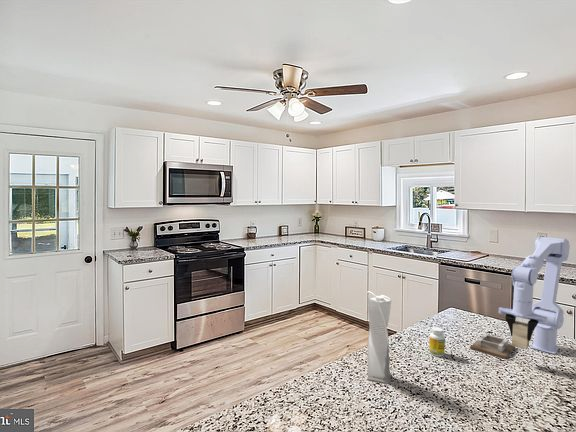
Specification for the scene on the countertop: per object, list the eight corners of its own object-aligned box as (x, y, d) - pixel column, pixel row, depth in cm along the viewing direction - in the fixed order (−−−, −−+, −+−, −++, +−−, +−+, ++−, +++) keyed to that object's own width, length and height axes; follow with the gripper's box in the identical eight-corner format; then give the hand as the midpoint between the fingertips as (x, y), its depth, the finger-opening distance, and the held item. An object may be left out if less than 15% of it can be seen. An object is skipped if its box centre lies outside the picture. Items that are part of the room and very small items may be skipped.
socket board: (481, 338, 150) (481, 330, 149) (514, 347, 141) (515, 339, 141) (470, 348, 140) (470, 340, 140) (505, 359, 131) (505, 349, 131)
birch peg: (514, 342, 131) (515, 320, 130) (529, 345, 128) (530, 324, 127) (511, 345, 128) (512, 323, 127) (526, 349, 125) (527, 327, 124)
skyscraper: (362, 379, 115) (365, 294, 114) (366, 367, 123) (368, 288, 121) (389, 384, 113) (392, 297, 111) (391, 372, 120) (394, 290, 118)
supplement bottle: (434, 349, 139) (435, 325, 138) (447, 354, 134) (448, 329, 134) (426, 352, 136) (427, 328, 135) (438, 358, 131) (439, 332, 131)
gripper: (496, 298, 129) (494, 334, 130) (545, 307, 119) (543, 347, 120) (502, 294, 134) (500, 329, 135) (549, 303, 124) (547, 341, 125)
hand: (520, 337), depth 128 cm, fingers closed on birch peg, 4 cm apart
